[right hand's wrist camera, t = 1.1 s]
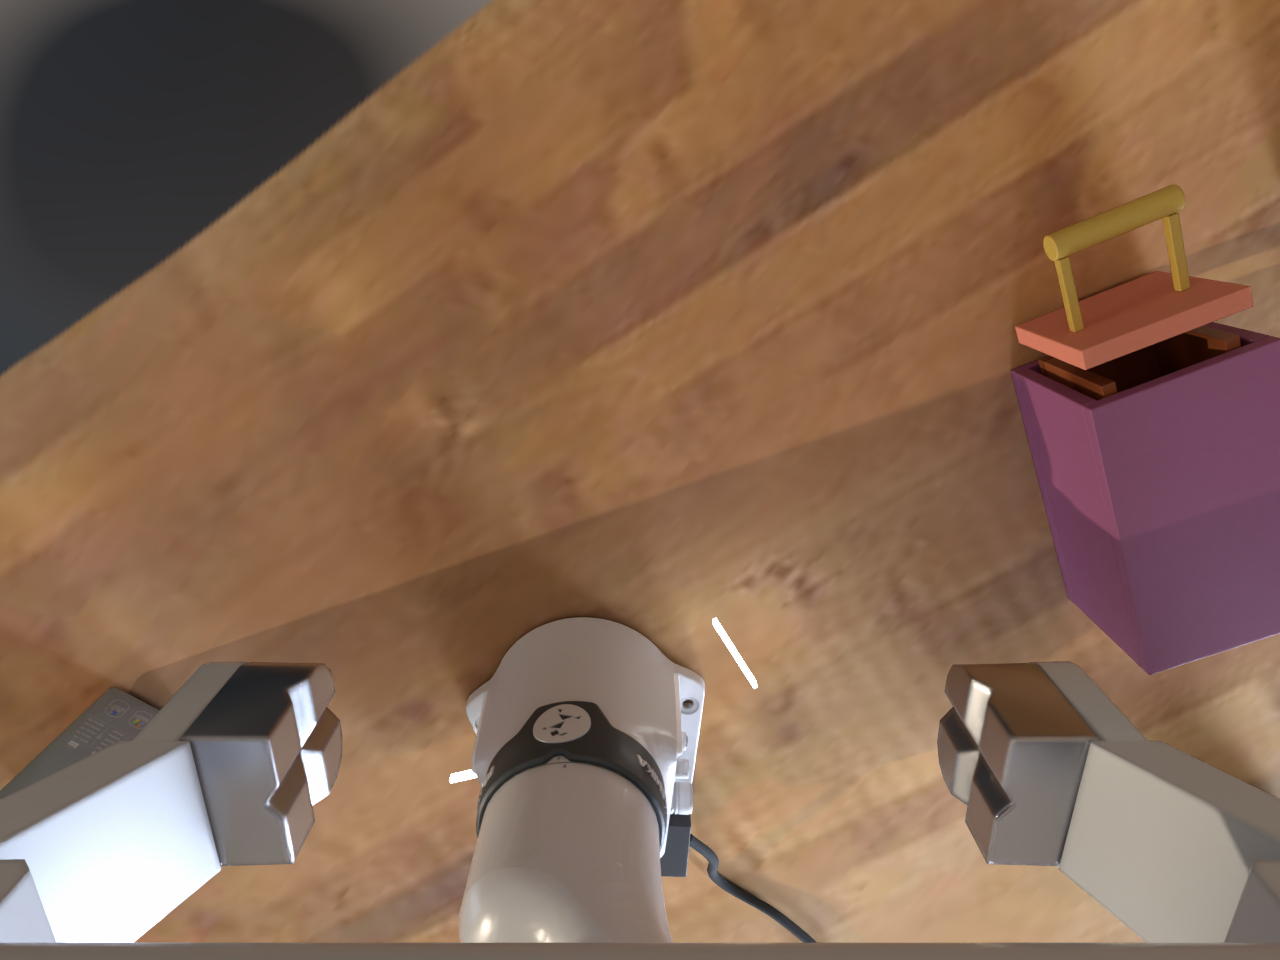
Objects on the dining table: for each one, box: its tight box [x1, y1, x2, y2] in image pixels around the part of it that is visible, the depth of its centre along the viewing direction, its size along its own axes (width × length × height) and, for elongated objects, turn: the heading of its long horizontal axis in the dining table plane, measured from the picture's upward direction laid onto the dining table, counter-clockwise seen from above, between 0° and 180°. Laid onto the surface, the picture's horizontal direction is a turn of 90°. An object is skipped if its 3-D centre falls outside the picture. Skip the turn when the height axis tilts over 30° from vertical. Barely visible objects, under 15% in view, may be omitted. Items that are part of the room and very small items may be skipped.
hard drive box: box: [0, 687, 160, 799], centre depth 55 cm, size 16×8×20 cm, turn 144°
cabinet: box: [1011, 322, 1280, 675], centre depth 50 cm, size 19×10×10 cm, turn 23°
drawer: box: [1015, 185, 1253, 401], centre depth 48 cm, size 24×9×8 cm, turn 23°
